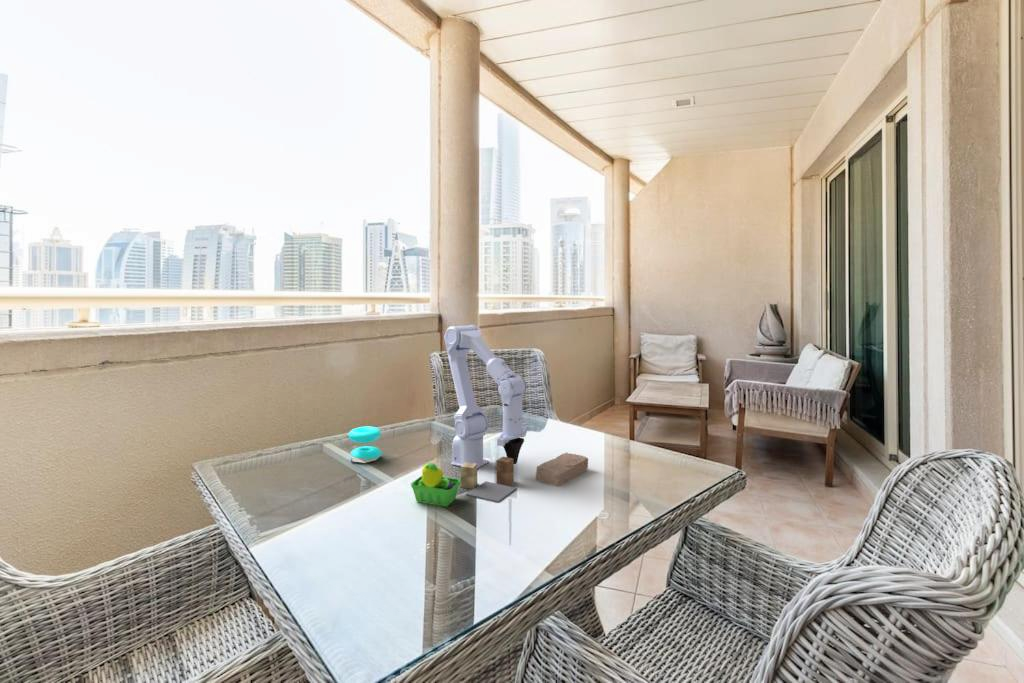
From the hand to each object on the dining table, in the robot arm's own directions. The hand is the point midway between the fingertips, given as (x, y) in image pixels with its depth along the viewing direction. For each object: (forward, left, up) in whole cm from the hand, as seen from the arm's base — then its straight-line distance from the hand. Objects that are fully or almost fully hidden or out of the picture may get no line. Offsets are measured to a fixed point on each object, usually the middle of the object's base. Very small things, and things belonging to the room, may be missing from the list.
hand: (512, 463), depth 146 cm
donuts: (-50, -9, -5) cm, 51 cm away
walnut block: (0, -4, -4) cm, 6 cm away
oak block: (-8, -11, -4) cm, 14 cm away
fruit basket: (-10, -24, -5) cm, 26 cm away
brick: (+12, +9, -5) cm, 16 cm away
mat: (0, -12, -4) cm, 13 cm away
